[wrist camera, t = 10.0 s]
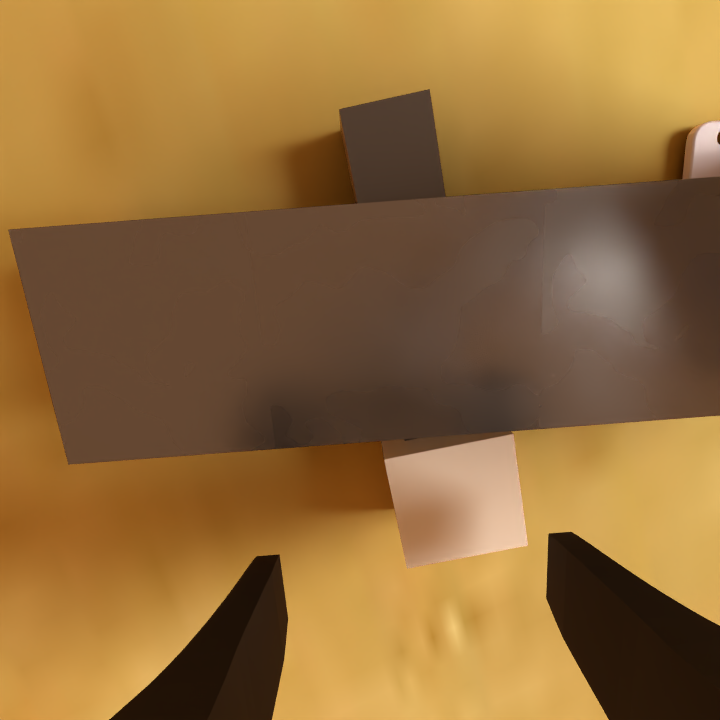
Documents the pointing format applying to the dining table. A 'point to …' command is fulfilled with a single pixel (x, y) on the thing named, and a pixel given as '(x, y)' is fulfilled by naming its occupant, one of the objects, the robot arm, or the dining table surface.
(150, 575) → the dining table surface
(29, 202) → the dining table surface
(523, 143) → the dining table surface
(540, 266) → the block
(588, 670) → the robot arm
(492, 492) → the plug
